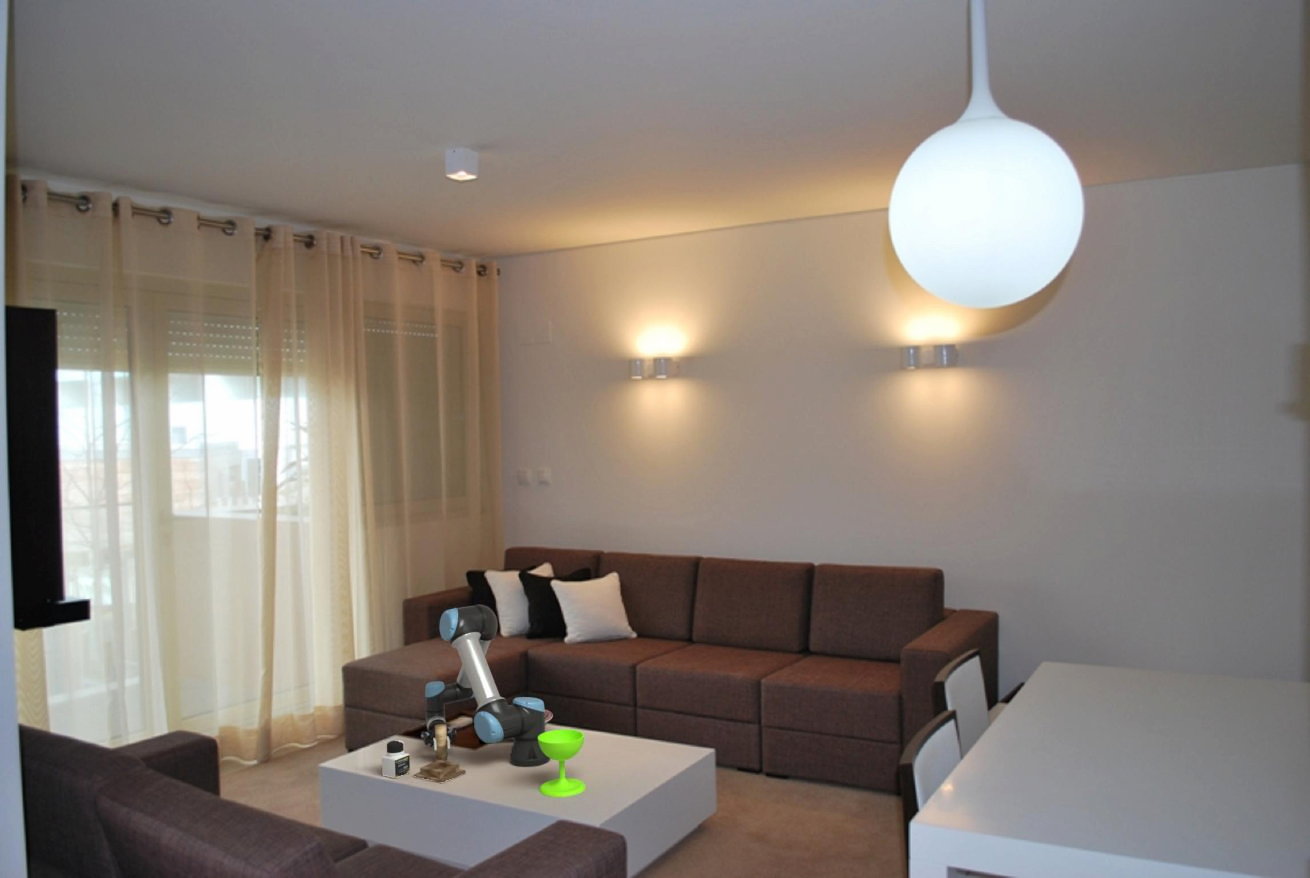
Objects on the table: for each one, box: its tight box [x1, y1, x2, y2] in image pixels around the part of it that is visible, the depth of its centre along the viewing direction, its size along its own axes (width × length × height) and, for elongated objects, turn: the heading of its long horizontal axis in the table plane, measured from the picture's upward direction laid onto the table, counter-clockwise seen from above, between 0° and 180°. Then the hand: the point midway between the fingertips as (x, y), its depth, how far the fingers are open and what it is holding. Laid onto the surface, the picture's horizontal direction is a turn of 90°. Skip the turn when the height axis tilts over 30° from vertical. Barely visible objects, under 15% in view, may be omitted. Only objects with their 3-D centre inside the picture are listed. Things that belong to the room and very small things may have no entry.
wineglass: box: [538, 728, 587, 798], centre depth 332 cm, size 16×16×18 cm
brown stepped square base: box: [413, 760, 467, 783], centre depth 349 cm, size 14×12×3 cm
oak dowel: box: [435, 723, 448, 762], centre depth 362 cm, size 4×4×14 cm
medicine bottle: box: [381, 739, 411, 779], centre depth 351 cm, size 7×7×12 cm
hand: (442, 745), depth 357 cm, fingers closed on oak dowel, 4 cm apart
